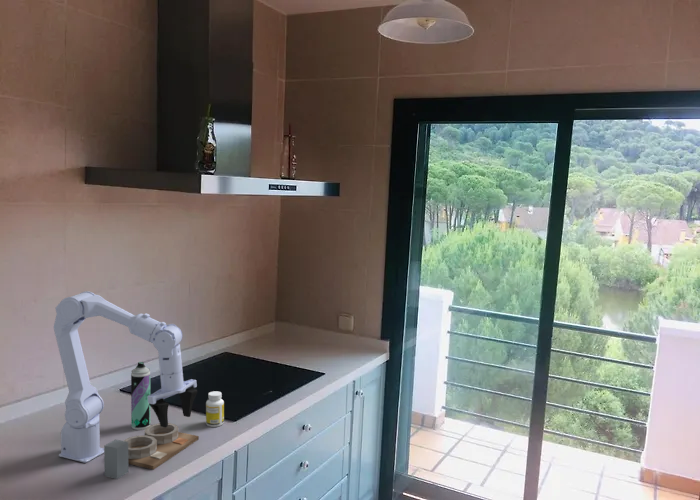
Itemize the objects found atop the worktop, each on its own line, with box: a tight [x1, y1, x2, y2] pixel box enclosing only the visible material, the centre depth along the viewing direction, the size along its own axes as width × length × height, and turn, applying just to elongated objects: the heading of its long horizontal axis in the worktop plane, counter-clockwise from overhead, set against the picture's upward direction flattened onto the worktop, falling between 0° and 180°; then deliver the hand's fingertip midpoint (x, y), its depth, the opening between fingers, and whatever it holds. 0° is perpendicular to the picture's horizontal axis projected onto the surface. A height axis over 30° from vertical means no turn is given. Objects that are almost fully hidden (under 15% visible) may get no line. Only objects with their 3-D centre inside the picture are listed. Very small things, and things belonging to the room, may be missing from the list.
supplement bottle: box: [205, 390, 225, 428], centre depth 181 cm, size 5×5×10 cm
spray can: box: [130, 361, 151, 431], centre depth 176 cm, size 6×6×20 cm
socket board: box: [123, 422, 200, 470], centre depth 163 cm, size 14×20×4 cm
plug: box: [103, 439, 129, 480], centre depth 148 cm, size 4×4×8 cm
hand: (175, 421), depth 155 cm, fingers open, 7 cm apart
